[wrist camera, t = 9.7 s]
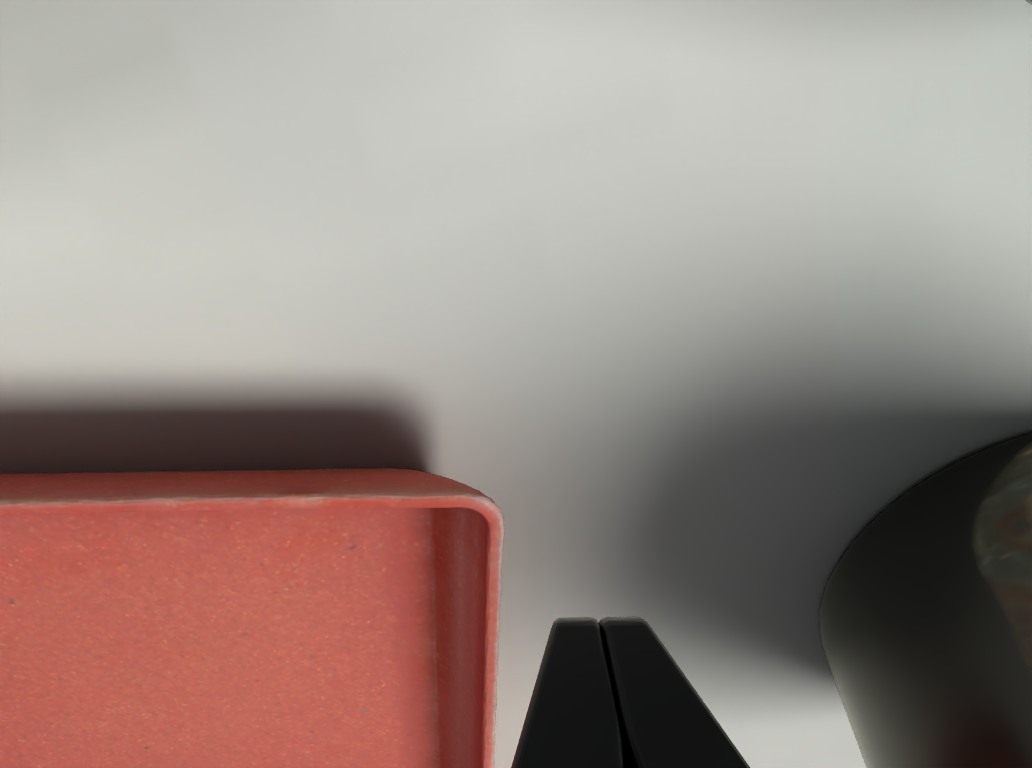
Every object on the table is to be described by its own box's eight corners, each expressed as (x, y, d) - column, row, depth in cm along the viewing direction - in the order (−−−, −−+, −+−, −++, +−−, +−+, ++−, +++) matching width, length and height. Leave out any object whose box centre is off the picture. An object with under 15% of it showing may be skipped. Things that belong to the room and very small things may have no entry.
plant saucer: (488, 802, 34) (491, 899, 31) (-40, 820, 33) (-83, 922, 30) (499, 399, 23) (506, 496, 20) (-292, 405, 22) (-394, 509, 19)
